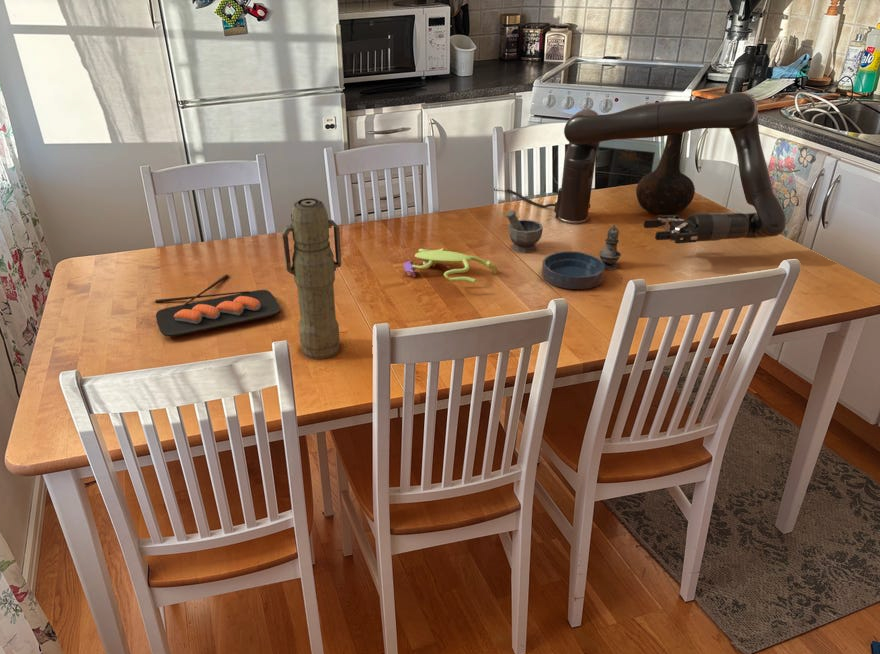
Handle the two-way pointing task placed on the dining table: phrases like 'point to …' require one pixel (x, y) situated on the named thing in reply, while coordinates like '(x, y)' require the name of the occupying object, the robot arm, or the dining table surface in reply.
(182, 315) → the sushi plate
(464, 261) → the figurine
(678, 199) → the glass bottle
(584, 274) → the bowl
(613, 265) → the salt shaker
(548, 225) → the dining table surface
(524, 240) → the mortar and pestle
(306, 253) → the thermos
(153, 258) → the dining table surface
